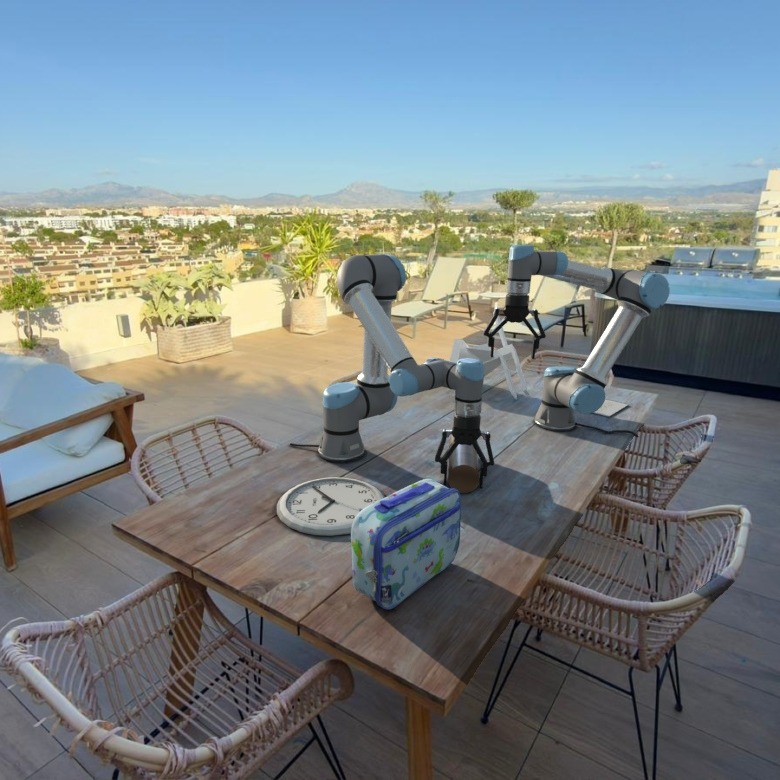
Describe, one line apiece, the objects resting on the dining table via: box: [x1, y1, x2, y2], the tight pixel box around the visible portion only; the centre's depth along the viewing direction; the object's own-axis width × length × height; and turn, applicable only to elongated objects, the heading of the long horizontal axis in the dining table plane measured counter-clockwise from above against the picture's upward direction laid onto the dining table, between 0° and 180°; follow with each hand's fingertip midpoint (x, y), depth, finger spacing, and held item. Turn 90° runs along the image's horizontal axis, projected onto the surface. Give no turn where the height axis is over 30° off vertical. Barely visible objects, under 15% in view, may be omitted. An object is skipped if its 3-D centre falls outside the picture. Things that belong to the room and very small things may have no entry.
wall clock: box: [276, 476, 386, 537], centre depth 142 cm, size 30×2×30 cm
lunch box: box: [350, 478, 462, 611], centre depth 110 cm, size 26×11×21 cm, turn 135°
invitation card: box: [592, 398, 629, 418], centre depth 226 cm, size 21×1×15 cm
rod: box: [447, 434, 480, 494], centre depth 162 cm, size 27×9×9 cm, turn 173°
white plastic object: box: [449, 310, 531, 400], centre depth 245 cm, size 37×45×31 cm
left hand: (462, 484), depth 154 cm, fingers open, 10 cm apart
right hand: (512, 357), depth 177 cm, fingers open, 13 cm apart
